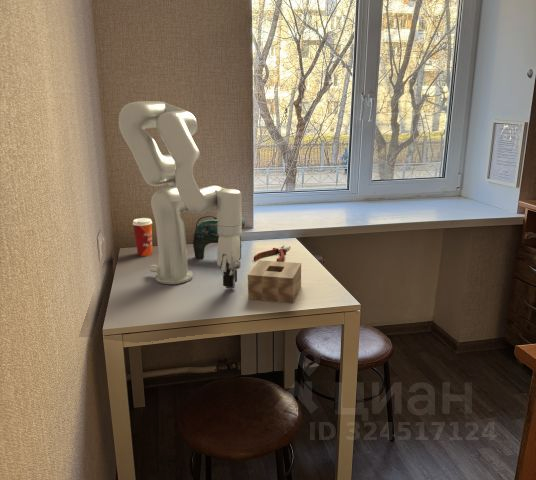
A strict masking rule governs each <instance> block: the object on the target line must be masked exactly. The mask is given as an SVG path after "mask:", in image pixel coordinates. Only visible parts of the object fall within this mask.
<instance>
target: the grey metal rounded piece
mask: <svg viewBox="0 0 536 480" xmlns="http://www.w3.org/2000/svg"><path fill="white" fill-rule="evenodd" d="M240 260H241V259H239V260H238V261H237V262H236V263H235V264H234V265H233V266H232V267H230V266H229V264H227V269H229V270H230V269H231V270H232V275H233V287H228V286H224V287H225V288H226V289H229V290H232V289H235V288H236V282H235V270H236V269H237V270H239V269H240V268H241V261H240ZM219 268H220V270H221V269H222V264H221V265H220V266H219Z"/></svg>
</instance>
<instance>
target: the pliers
mask: <svg viewBox="0 0 536 480" xmlns="http://www.w3.org/2000/svg"><path fill="white" fill-rule="evenodd" d="M291 248H292V247H291V246H285V245H282V246H279V247H278V248H277V247H273V248H272V249H270V250H269V249H268V250H266V251H260V252H258V253H256V254H254V256H253V261H254V262H256V261H257V262H258V261H259V260H261V259H262V258H265V257H266V258H267V257H269V256H273V255H274V254H275V255H278V254H277V253H280V254H279V257H278V258H276V260H275V261H277V262H285V259H286V257H285V255H287V251H288V250H289V249H291ZM275 255H274V256H275Z"/></svg>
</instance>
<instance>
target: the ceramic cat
mask: <svg viewBox="0 0 536 480" xmlns="http://www.w3.org/2000/svg"><path fill="white" fill-rule="evenodd" d="M206 218H210V219H206ZM202 219H205V220H203V221H201V220H202ZM199 221H201V222H200V223H199ZM245 222H246V221H245V218H244V217H243V216H242V230H243V229H244V227H245V224H246V223H245ZM198 223H199V224H198ZM218 239H219V235H218V222H217V217H215V216H212V215H207V216H202V217H200V218H199V219H198V220H197V221H196V225H195V231H194V233H193V241H192V245H193V246H192V247H193V251H194V258H195V259H197V260H198V259H204V258H205V249H206V246H208V245H209V244H213V243H215V244H218ZM241 258H242V237H241V236H240V258H239V260H241Z"/></svg>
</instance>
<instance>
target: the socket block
mask: <svg viewBox="0 0 536 480" xmlns="http://www.w3.org/2000/svg"><path fill="white" fill-rule="evenodd" d="M301 287H302V263H301V262H290V261H289V262H288V261H284V262H277V261H276V260H275V261H274V260H262V259H258V260H257V263H256V264H255V265H254V266H253V267H252V269H251V270H250V272H249V273H248V274H247V299H248V300H252V301H253V300H254V301H263V302H265V301H266V302H273V303H274V302H276V303H278V302H279V303H287V304H293V303H294V302H295V299H296V298H297V296H298V293H299V291H300V289H301Z"/></svg>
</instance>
